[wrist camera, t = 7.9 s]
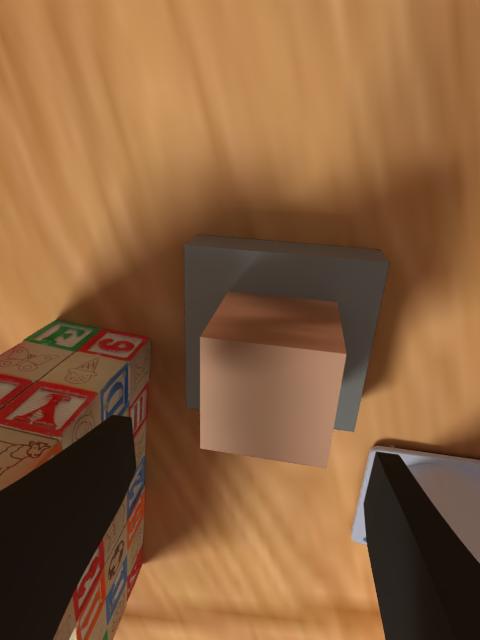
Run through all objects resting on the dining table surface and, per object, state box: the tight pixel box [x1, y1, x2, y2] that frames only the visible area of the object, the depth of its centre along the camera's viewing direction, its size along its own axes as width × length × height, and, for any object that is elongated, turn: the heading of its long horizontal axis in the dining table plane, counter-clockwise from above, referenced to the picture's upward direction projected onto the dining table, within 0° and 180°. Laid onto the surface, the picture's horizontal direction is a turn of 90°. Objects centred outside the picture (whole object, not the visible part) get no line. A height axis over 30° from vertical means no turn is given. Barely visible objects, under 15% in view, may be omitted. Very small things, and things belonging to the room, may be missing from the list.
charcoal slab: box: [184, 235, 390, 432], centre depth 20 cm, size 9×9×3 cm
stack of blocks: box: [0, 320, 151, 640], centre depth 22 cm, size 21×6×12 cm, turn 173°
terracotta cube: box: [200, 291, 346, 468], centre depth 16 cm, size 5×5×5 cm
